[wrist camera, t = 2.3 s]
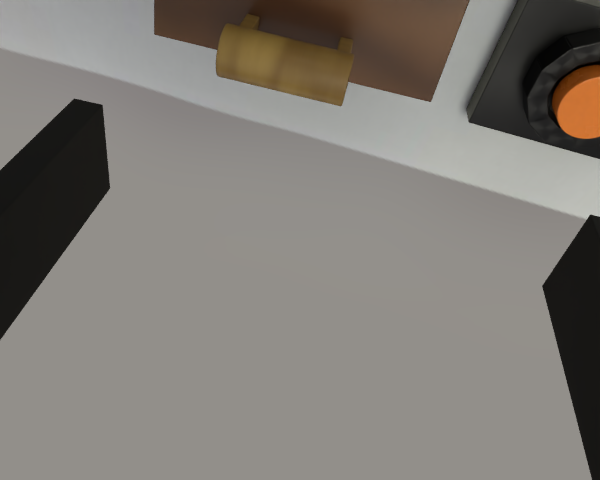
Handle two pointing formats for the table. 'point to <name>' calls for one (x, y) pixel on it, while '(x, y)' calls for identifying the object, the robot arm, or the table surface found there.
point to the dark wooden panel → (320, 42)
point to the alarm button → (579, 102)
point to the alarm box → (538, 70)
